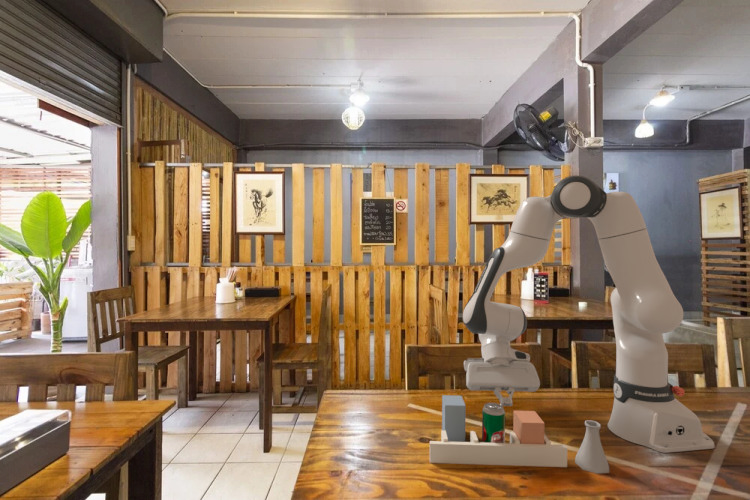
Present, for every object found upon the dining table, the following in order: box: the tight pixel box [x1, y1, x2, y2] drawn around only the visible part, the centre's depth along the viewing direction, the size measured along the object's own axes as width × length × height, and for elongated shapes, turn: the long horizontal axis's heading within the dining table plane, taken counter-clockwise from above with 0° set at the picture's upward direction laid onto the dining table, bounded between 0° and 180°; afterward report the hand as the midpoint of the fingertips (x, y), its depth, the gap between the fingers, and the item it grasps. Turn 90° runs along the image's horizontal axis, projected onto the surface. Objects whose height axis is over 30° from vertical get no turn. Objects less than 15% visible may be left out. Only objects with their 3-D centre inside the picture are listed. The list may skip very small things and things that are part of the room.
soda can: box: [481, 402, 506, 443], centre depth 90 cm, size 5×5×12 cm
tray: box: [429, 429, 568, 468], centre depth 94 cm, size 30×17×6 cm, turn 87°
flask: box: [574, 419, 610, 475], centre depth 86 cm, size 7×7×10 cm
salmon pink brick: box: [512, 410, 545, 444], centre depth 90 cm, size 5×7×9 cm
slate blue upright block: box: [441, 394, 467, 442], centre depth 99 cm, size 5×7×9 cm
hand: (506, 405), depth 106 cm, fingers closed
